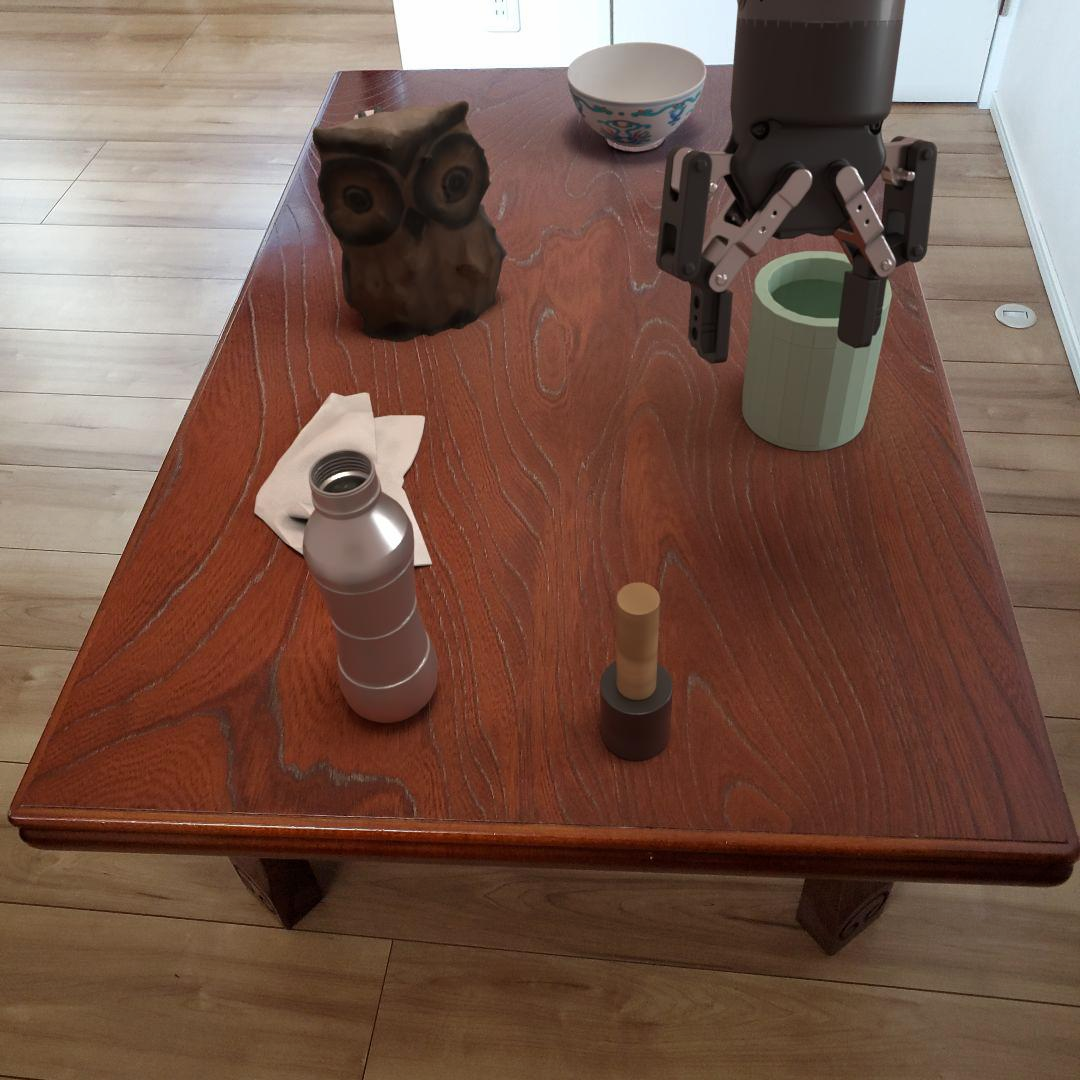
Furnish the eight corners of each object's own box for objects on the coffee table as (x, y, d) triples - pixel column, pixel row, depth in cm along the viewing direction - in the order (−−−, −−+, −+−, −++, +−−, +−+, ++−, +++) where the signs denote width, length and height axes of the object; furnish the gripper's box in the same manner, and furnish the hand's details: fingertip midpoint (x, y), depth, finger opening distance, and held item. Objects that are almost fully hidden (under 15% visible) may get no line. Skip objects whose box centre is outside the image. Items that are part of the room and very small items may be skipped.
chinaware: (542, 149, 126) (539, 81, 120) (618, 97, 134) (618, 31, 128) (654, 184, 119) (656, 114, 113) (727, 128, 127) (732, 60, 121)
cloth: (272, 401, 97) (266, 380, 95) (430, 388, 97) (427, 367, 95) (237, 635, 79) (229, 614, 77) (432, 617, 79) (428, 596, 77)
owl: (515, 299, 106) (498, 91, 91) (433, 370, 99) (402, 157, 84) (410, 263, 111) (379, 61, 96) (325, 328, 104) (278, 121, 89)
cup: (811, 360, 97) (830, 237, 88) (891, 422, 91) (920, 296, 82) (717, 400, 94) (727, 277, 85) (794, 467, 88) (813, 342, 79)
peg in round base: (644, 692, 73) (648, 557, 64) (683, 740, 71) (693, 607, 61) (587, 722, 72) (583, 588, 63) (625, 772, 69) (626, 640, 60)
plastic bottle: (330, 727, 73) (260, 507, 58) (366, 646, 77) (308, 424, 63) (424, 744, 71) (376, 523, 57) (455, 661, 76) (417, 438, 62)
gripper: (719, 14, 46) (694, 388, 54) (1001, 12, 51) (942, 359, 58) (644, 9, 53) (631, 345, 60) (900, 8, 57) (859, 321, 64)
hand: (784, 351), depth 59 cm, fingers open, 8 cm apart
